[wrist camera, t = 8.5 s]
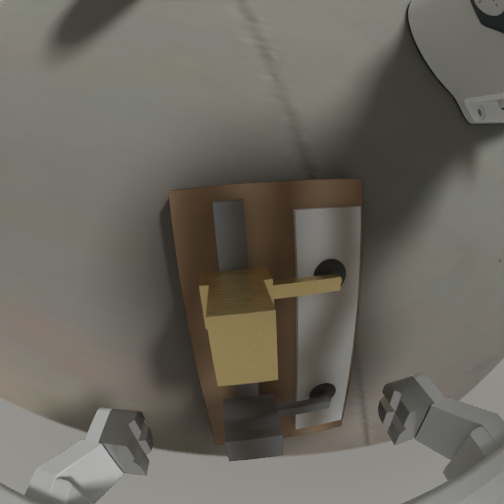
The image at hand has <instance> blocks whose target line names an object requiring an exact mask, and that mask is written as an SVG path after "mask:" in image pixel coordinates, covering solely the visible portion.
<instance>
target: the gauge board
mask: <svg viewBox="0 0 504 504" xmlns="http://www.w3.org/2000/svg"><path fill="white" fill-rule="evenodd" d="M169 202H170V211H171V220H172V228H173V236H174V243H175V251H176V258H177V265H178V271H179V278H180V284H181V290H182V296H183V301H184V307H185V313H186V318H187V323H188V329H189V334H190V339H191V344H192V348H193V353H194V358H195V362H196V367H197V371H198V376H199V380H200V384H201V388H202V392H203V397H204V401H205V405H206V408H207V412H208V416H209V420H210V424H211V427H212V431H213V434H214V438H215V441H216V445H224V444H225V446H226V450H227V454H228V458H229V461H237V460H248V459H257V458H265V457H273V456H279V455H283V438H285V437H291V436H297V435H302V434H307V433H312V432H317V431H321V430H325V429H330V428H334V427H338V426H341V424H342V419H343V414H344V409H345V404H346V399H347V393H348V388H349V382H350V375H351V369H352V362H353V355H354V348H355V340H356V331H357V322H358V311H359V300H360V286H361V269H362V242H363V193H362V179H311V180H288V181H270V182H255V183H242V184H230V185H219V186H208V187H199V188H189V189H181V190H173V191H170V192H169ZM258 267H267V268H268V270H269V272H270V274H271V276H272V278H273V281H276V280H285V279H294V278H303V277H311V276H319V275H327V274H329V273H330V272H336V273H337V274H338V275H339V276H340V277H341V278H342V283H341V289H340V291H333V292H326V293H318V294H311V295H303V296H296V297H288V298H279V299H274V307H275V310H276V331H277V359H278V380H272V381H265V382H257V383H248V384H238V385H228V386H218V385H217V380H216V374H215V369H214V364H213V358H212V352H211V347H210V341H209V335H208V330H206V328H205V322H204V316H203V309H202V303H201V296H200V289H199V284H200V278H201V273H206V272H217V271H227V270H237V269H248V268H258Z"/></svg>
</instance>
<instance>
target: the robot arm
mask: <svg viewBox="0 0 504 504" xmlns="http://www.w3.org/2000/svg"><path fill="white" fill-rule="evenodd" d="M408 18H409V24H410V28H411V31H412V34H413V37H414V40H415V42H416V44H417V46H418V48H419V50H420V52H421V54H422V56H423V57H424V59H425V61H426V62H427V64H428V65H429V67H430V68H431V70H432V71H433V73H434V74H435V75H436V77H437V78H438V79H439V80H440V82H441V83H442V84H443V85H444V86H445V87H446V88H447V89H448V90H449V91H450V93H451V94H452V95H453V96H454V98H455V99H456V101H457V103H458V105H459V107H460V109H461V111H462V112H463V114H464V116H465V118H466V119H467V121H468V122H469V123H471V124H489V123H504V0H413V1H412V2H411V3H410V6H409V10H408ZM383 394H384V395H385V396H384V397H383V398H382V399H381V400H380V402H379V406H378V413H379V417H380V420H381V422H382V423H383V424H384V425H386V426H388V427H389V429H388V434H389V436H390V438H391V440H392V441H393V443H394V445H397V444H400V443H403V442H406V441H408V440H411V439H413V438H415V440H417V441H419V442H420V443H422V444H424V445H426V446H427V447H429V448H431V449H432V450H434V451H436V452H438V453H439V454H441V455H443V456H445V457H446V458H448V459H450V460H451V461H450V463H449V464H448V465H447V466H446V468H445V469H444V472H443V473H444V475H445V477H446V478H447V480H448V481H447V482H445V483H443V484H442V485H440V486H438V487H436V488H434V489H432V490H430V491H428V492H426V493H424V494H422V495H420V496H418V497H416V498H414V499H411V500H409V501H407V502H405V503H402V504H504V421H503V420H502V419H501V418H500V416H499V415H498V414H496V413H493V412H490V411H487V410H484V409H481V408H478V407H474V406H471V405H469V404H466V403H463V402H460V401H458V400H455V399H452V398H449V397H448V398H445V397H444V396H443V395H442V393H441V392H440V391H439V390H438V389H437V387H436V386H435V385H434V384H433V383H432V382H431V380H430V379H429V378H428V377H427V376H426V375H425V374H424V373H422V372H421V373H419V374H416V375H413V376H410V377H406V378H403V379H400V380H397V381H394V382H391V383H388V384H386V385H385V386H384V388H383ZM144 420H145V418H144V416H143V414H142V412H139V411H129V410H120V409H111V408H103V407H100V408H99V409H98V410H97V412H96V414H95V416H94V419H93V421H92V423H91V425H90V428H89V430H88V432H87V435H86V437H85V439H84V440H79V441H78V442H76V443H75V444H74V445H72V446H71V447H69V448H68V449H66V450H65V451H63V452H62V453H60V454H59V455H57V456H56V457H54V458H53V459H51V460H49V461H48V462H46V463H45V464H43V465H42V466H40V467H38V468H37V469H36V471H35V473H34V475H33V477H32V479H31V482H30V484H29V487H28V489H27V491H26V494H25V495H23V494H21V493H19V492H17V491H15V490H13V489H11V488H9V487H7V486H6V485H4V484H2V483H0V504H94V503H96V501H97V500H99V499H100V498H101V497H102V496H103V495H104V494H105V493H106V492H107V491H108V490H109V489H110V488H111V487H112V486H113V485H114V484H115V483H116V482H117V481H118V480H119V479H120V477H121V476H122V475H123V473H129V474H138V475H146V474H147V470H148V465H149V460H148V458H147V456H146V455H147V454H148V453H149V452H151V450H152V444H153V443H152V433H151V430H150V428H149V426H147V425H146V424H144Z"/></svg>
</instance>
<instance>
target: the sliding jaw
mask: <svg viewBox="0 0 504 504" xmlns="http://www.w3.org/2000/svg"><path fill="white" fill-rule="evenodd" d="M341 283H342V278H341V277H340V276H339V275H338V274H337V273H336V272H330V273H329V274H327V275H319V276H311V277H303V278H294V279H285V280H276V281H273V278H272V276H271V274H270V272H269V270H268V268H267V267H258V268H248V269H237V270H227V271H217V272H206V273H201V278H200V284H199V289H200V296H201V303H202V309H203V316H204V322H205V328H206V330H208V335H209V341H210V347H211V352H212V358H213V364H214V369H215V374H216V380H217V385H218V386H228V385H238V384H248V383H257V382H265V381H272V380H278V359H277V331H276V310H275V307H274V299H279V298H288V297H296V296H303V295H311V294H318V293H326V292H333V291H340V289H341Z"/></svg>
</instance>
